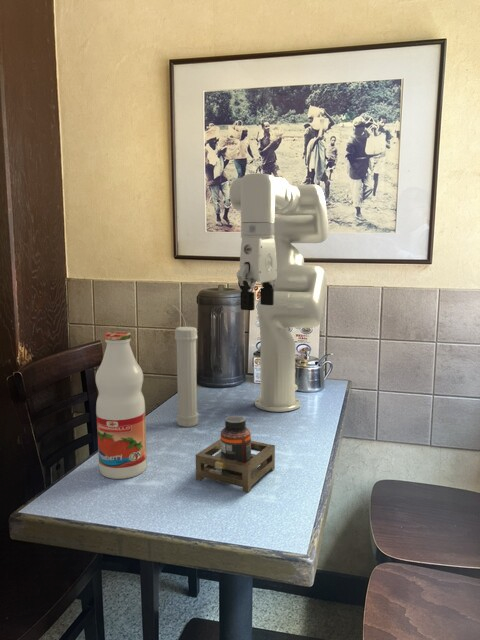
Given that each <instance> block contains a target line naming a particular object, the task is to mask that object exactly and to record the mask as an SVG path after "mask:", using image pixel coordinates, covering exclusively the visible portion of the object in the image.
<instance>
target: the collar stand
mask: <svg viewBox="0 0 480 640" xmlns="http://www.w3.org/2000/svg"><path fill="white" fill-rule="evenodd" d="M251 451H256V452H257V454H255V453H251V459H250V460H249V461H248V462H246V463H242V462H238V461H233V460H229V459H224V458H221V438H219V439H218V440H217V441H215V442H213V443H212V444H210V445H208V446H207V447H205V448H204V449H202V450H201V451H200V452H198V453H196V454H195V480H196V481H203V480H204V479H207V480H212V481H214V482H215V481H216V482H220V483H222V484H223V483H224V484H228V485H230V486H231V485H232V486H235V487H239V488H242V491H241V492H243V493H248V494H249V493H250V492H251V491H252V486H253V485H255V483H256V482H257V481H259V480H260V479H261V478H262V477H263V476H265V475H266V474H267V473H268V472H273V471H275V469H276V464H275V463H276V446H275V445H274V444H271V443H270V444H269V443H266V442H265V443H264V442H260V441H255V440H251ZM214 468H215V469H220V470H221V469H228V470H232V471H236V472H240V473H242V477H241V476H237V475H233V474H229V473H224V472H222V471H220V470H215V469H214Z"/></svg>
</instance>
